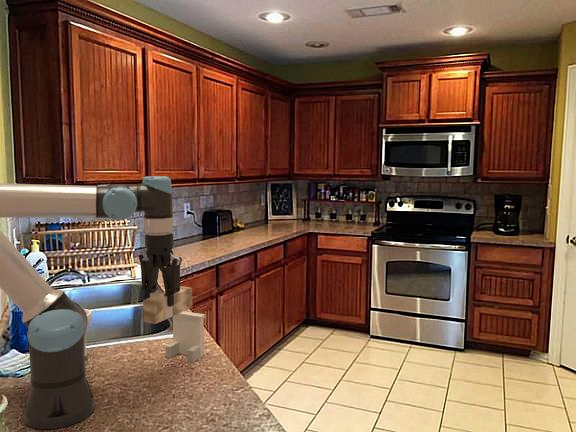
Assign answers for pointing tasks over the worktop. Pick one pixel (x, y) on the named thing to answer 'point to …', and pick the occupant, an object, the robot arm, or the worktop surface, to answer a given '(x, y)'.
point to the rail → (155, 305)
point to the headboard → (187, 336)
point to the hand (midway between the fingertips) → (161, 316)
